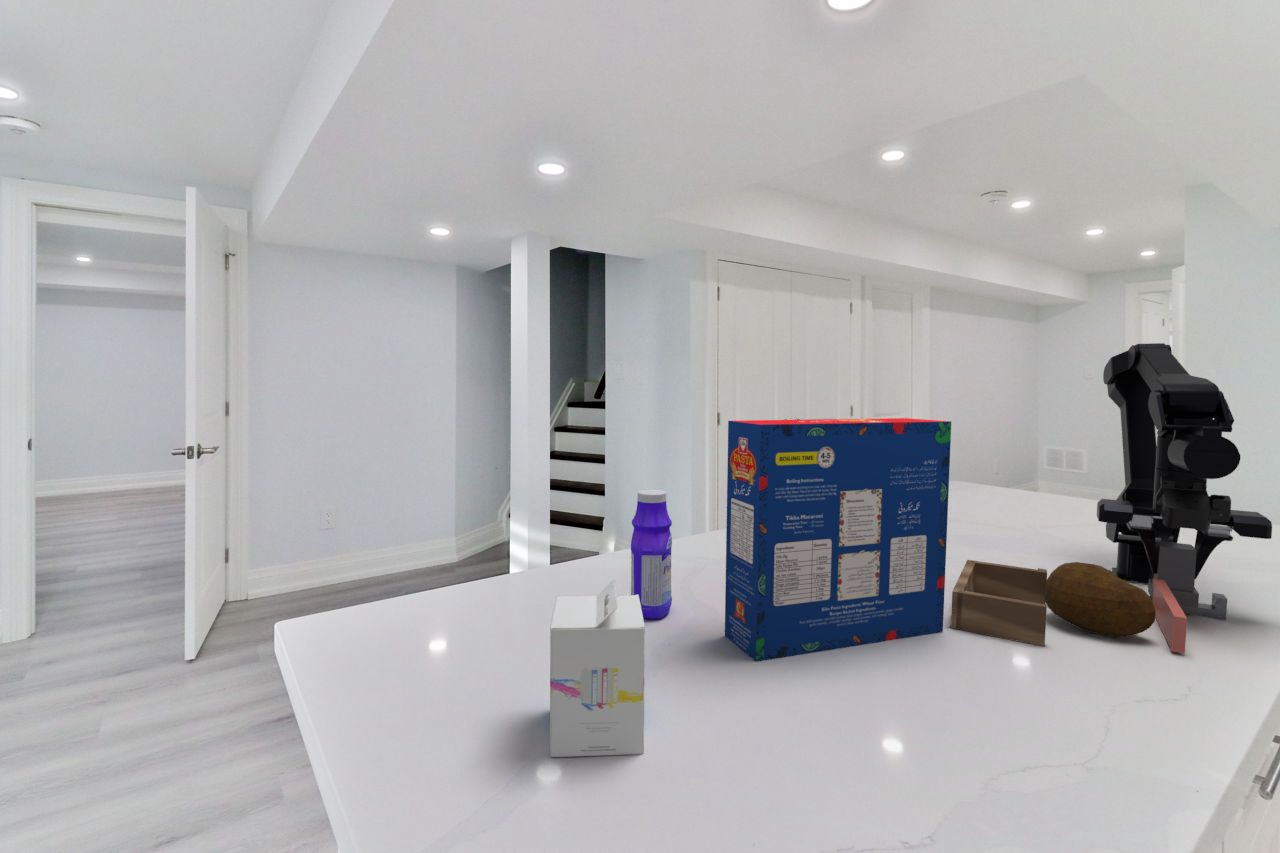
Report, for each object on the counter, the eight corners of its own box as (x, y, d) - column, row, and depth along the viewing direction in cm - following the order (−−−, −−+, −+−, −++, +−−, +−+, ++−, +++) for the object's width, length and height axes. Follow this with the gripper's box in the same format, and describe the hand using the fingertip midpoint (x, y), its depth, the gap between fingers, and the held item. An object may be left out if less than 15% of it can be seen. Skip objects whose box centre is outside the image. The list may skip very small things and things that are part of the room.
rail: (1037, 586, 102) (1037, 568, 102) (1221, 614, 90) (1223, 594, 89) (1036, 590, 100) (1037, 571, 100) (1225, 620, 88) (1227, 599, 87)
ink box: (554, 708, 63) (553, 577, 62) (637, 705, 63) (638, 575, 62) (548, 760, 54) (548, 608, 53) (645, 755, 55) (646, 606, 54)
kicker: (1147, 599, 95) (1151, 539, 94) (1190, 605, 92) (1195, 544, 92) (1171, 651, 76) (1176, 577, 76) (1227, 661, 74) (1232, 584, 73)
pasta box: (899, 611, 90) (906, 418, 88) (942, 632, 83) (951, 421, 81) (724, 636, 81) (728, 420, 79) (755, 662, 73) (760, 424, 72)
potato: (1114, 651, 77) (1118, 581, 76) (1025, 617, 88) (1028, 556, 88) (1159, 642, 80) (1163, 575, 79) (1068, 610, 91) (1071, 551, 90)
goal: (966, 590, 99) (967, 559, 99) (1045, 603, 94) (1047, 571, 93) (950, 627, 84) (952, 591, 84) (1044, 646, 78) (1046, 607, 78)
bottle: (666, 623, 85) (668, 496, 84) (626, 620, 86) (626, 494, 85) (674, 605, 92) (675, 487, 91) (636, 602, 93) (637, 486, 92)
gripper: (1104, 470, 89) (1098, 578, 90) (1289, 482, 78) (1279, 604, 80) (1099, 462, 98) (1093, 560, 99) (1263, 472, 88) (1255, 581, 89)
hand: (1173, 575), depth 91 cm, fingers closed on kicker, 4 cm apart
